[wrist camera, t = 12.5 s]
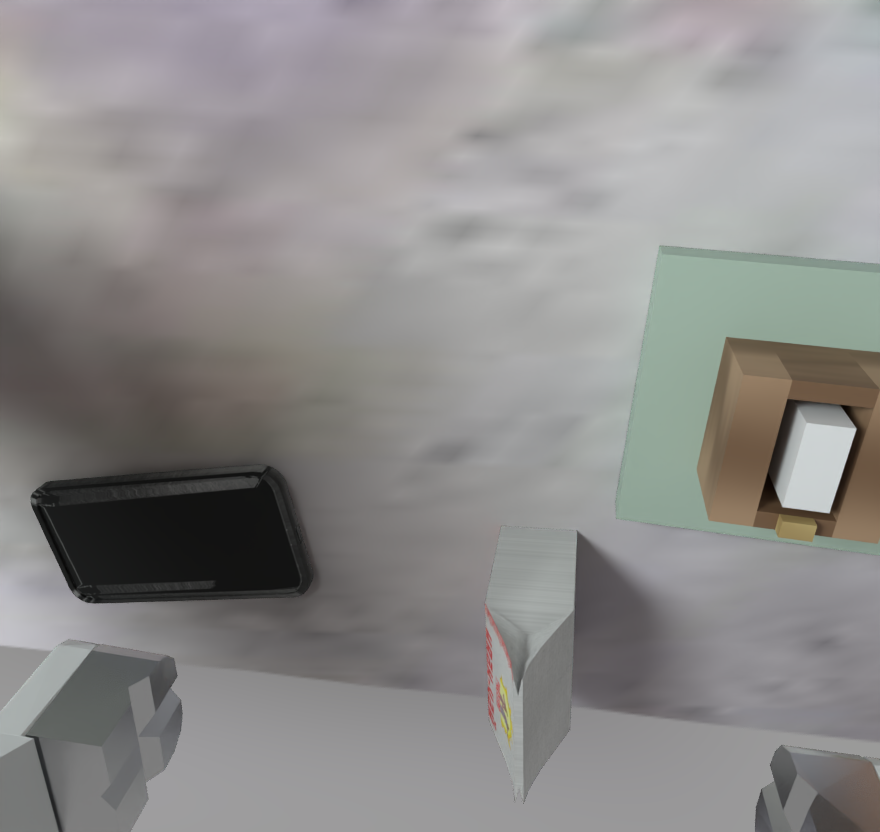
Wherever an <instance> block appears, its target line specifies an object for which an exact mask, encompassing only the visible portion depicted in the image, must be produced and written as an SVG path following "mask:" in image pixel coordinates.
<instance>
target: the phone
mask: <svg viewBox="0 0 880 832" xmlns="http://www.w3.org/2000/svg"><path fill="white" fill-rule="evenodd" d="M31 505H32V508H33V510H34V513H35V515H36V517H37V519H38V521H39V523H40V525H41V528H42V530H43V532H44V534H45V536H46V538H47V540H48V543H49V545H50V547H51V549H52V551H53V553H54V555H55V558H56V560H57V562H58V564H59V566H60V568H61V571H62V573H63V575H64V577H65V579H66V581H67V583H68V586H69V588H70V589H71V591H72V592H73V594H74V595H75V596H76V597H78V598H79V599H81V600H82V601H85V602H88V603H123V602H154V601H186V600H218V599H249V598H282V597H297V596H300V595H302V594H304V593H305V592H306V590H307V589H308V587H309V585H310V583H311V581H312V578H313V571H312V567H311V564H310V561H309V557H308V554H307V551H306V547H305V544H304V541H303V537H302V534H301V531H300V528H299V524H298V521H297V518H296V514H295V511H294V508H293V504H292V501H291V498H290V494H289V491H288V488H287V485H286V482H285V480H284V478H283V476H282V475H281V474H280V473H279V472H278V471H277V470H275V469H274V468H273V467H270V466H267V465H248V466H235V467H223V468H210V469H198V470H185V471H172V472H160V473H147V474H135V475H122V476H110V477H97V478H84V479H72V480H59V481H50V482H46V483H45V484H43V485H42V486H41V487H39V488H38V489H37V490H36V491H34V492H33V493H32V495H31ZM295 528H296V529H297V532H296V529H295ZM297 533H298V535H297ZM298 536H299V539H300V542H299V539H298ZM308 564H309V565H308Z"/></svg>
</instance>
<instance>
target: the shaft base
mask: <svg viewBox="0 0 880 832" xmlns="http://www.w3.org/2000/svg"><path fill="white" fill-rule="evenodd" d="M726 337H733V338H743V339H753V340H763V341H773V342H783V343H793V344H802V345H812V346H822V347H832V348H842V349H852V350H862V351H872V352H880V264H871V263H859V262H847V261H836V260H824V259H812V258H800V257H788V256H776V255H765V254H753V253H741V252H729V251H717V250H705V249H694V248H682V247H670V246H659V252H658V258H657V263H656V269H655V275H654V281H653V287H652V292H651V298H650V304H649V310H648V316H647V321H646V327H645V333H644V339H643V345H642V350H641V356H640V362H639V368H638V374H637V379H636V385H635V391H634V397H633V403H632V408H631V414H630V420H629V426H628V432H627V437H626V443H625V449H624V455H623V461H622V466H621V472H620V478H619V484H618V490H617V495H616V501H615V503H616V519H621V520H628V521H635V522H643V523H650V524H657V525H664V526H671V527H678V528H686V529H693V530H700V531H707V532H714V533H721V534H729V535H736V536H743V537H750V538H757V539H764V540H772V541H779V542H786V543H793V544H800V545H807V546H815V547H822V548H829V549H836V550H843V551H850V552H858V553H865V554H872V555H879V556H880V539H879V542H878V544H875V543H868V542H861V541H853V540H846V539H839V538H831V537H824V536H817V535H814V538H813V541H812V542H808V541H801V540H794V539H786V538H779V537H778V536H777V534H776V531H775V530H773V529H766V528H758V527H751V526H744V525H736V524H729V523H722V522H714V521H709V520H708V516H707V512H706V507H705V503H704V499H703V495H702V491H701V486H700V482H699V478H698V474H697V470H696V469H697V465H698V460H699V456H700V451H701V447H702V442H703V438H704V433H705V429H706V424H707V420H708V415H709V411H710V406H711V402H712V397H713V393H714V388H715V384H716V379H717V375H718V370H719V366H720V361H721V357H722V352H723V348H724V343H725V339H726ZM855 432H856V427H855V426H854V424H853V423H852V421H851V420H850V419H849V417H848V416H847V414H846V413H845V411H844V410H843V409H842V407H841V406H840V405H839V404H830V403H821V402H812V401H803V400H794V399H787V402H786V406H785V409H784V413H783V417H782V420H781V424H780V428H779V432H778V435H777V439H776V443H775V446H774V450H773V454H772V457H771V461H770V465H769V469H768V473H769V476H770V478H771V481H772V483H773V485H774V488H775V490H776V493H777V495H778V498H779V500H780V502H781V505H782V507H785V508H793V509H801V510H808V511H816V512H823V513H830V510H831V507H832V504H833V500H834V497H835V494H836V491H837V488H838V485H839V482H840V479H841V476H842V473H843V469H844V466H845V463H846V460H847V457H848V454H849V451H850V448H851V445H852V441H853V438H854V435H855Z"/></svg>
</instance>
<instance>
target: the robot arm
mask: <svg viewBox="0 0 880 832" xmlns="http://www.w3.org/2000/svg"><path fill="white" fill-rule="evenodd" d="M176 678H177V672H176V666H175V661H174V658H172V657H169V656H166V655H161V654H155V653H149V652H143V651H138V650H132V649H126V648H121V647H115V646H109V645H103V644H102V645H100V644H95V643H89V642H83V641H77V640H71V639H68V640H66V641H65V642H63V643H61V644H59V645H58V646H56V647H55V649H54V650H53V651H52V652H51V653H50V654H49V656H48V657H47V658H46V659H45V660H44V661H43V663H42V664H41V665H40V666H39V667H38V668H37V670H36V671H35V672H34V673H33V674H32V675H31V677H30V678H29V679H28V680H27V681H26V682H25V684H24V685H23V686H22V687H21V688H20V689H19V691H18V692H17V693H16V694H15V695H14V696H13V698H12V699H11V700H10V701H9V702H8V703H7V704H6V706H5V707H4V708H3V709H2V710H1V712H0V832H130V831H131V830H132V828H133V826H134V824H135V822H136V821H137V819H138V817H139V815H140V814H141V812H142V810H143V808H144V806H145V805H146V802H147V801H148V793H147V787H146V782H147V781H149V780H150V779H152V778H153V777H155V776H156V775H158V774H159V773H161V772H162V771H164V770H165V768H166V766H167V765H168V762H169V761H170V759H171V757H172V755H173V753H174V751H175V748H176V745H177V741H178V738H179V735H180V732H181V725H182V705H181V700H180V698H179V697H178V696H177V695H176V694H175V693H174V692H173V691H172V689H171V686H172V684H173V683H174V681H175V679H176ZM770 766H771V770H772V774H773V777H774V782H772V783H771V784H769V785H767V786H766V787H764V788H762V789H761V793H760V796H759V799H758V803H757V806H756V819H755V832H880V759H878V758H871V757H861V756H859V755H851V754H844V753H837V752H829V751H822V750H814V749H807V748H800V747H792V746H785V745H781V746H780V747H779V748H778V749H777V750H776V751H775V753H774V756H773V758H772V761H771V764H770Z"/></svg>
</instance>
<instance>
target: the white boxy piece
mask: <svg viewBox="0 0 880 832" xmlns="http://www.w3.org/2000/svg"><path fill="white" fill-rule="evenodd" d="M576 554H577V531H576V530H560V529H544V528H527V527H511V526H501V529H500V534H499V539H498V543H497V548H496V553H495V558H494V562H493V567H492V572H491V577H490V581H489V586H488V591H487V596H486V601H485V619H486V649H487V679H488V710H489V722H490V725H491V727H492V730H493V732H494V735H495V737H496V739H497V742H498V744H499V747H500V749H501V752H502V754H503V757H504V759H505V762H506V764H507V768H508V771H509V775H510V778H511V781H512V785H513V791H514V800H516V797H517V794H518V790H520V793H521V797H522V800H523V804H524V802H525V799H526V796H527V794H528V791H529V789H530V787H531V785H532V784H533V782H534V780H535V779H536V777H537V775H538V774H539V772H540V770H541V769H542V767H543V766H544V765H545V763H546V762H547V760H548V759H549V758H550V756H551V755H552V754H553V752H554V751H555V750H556V748H557V747H558V745H559V744H560V742H561V741H562V740H563V739H564V737H565V736H566V734H567V733H568V732H569V730H570V719H571V696H572V672H573V649H574V620H575V587H576Z"/></svg>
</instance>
